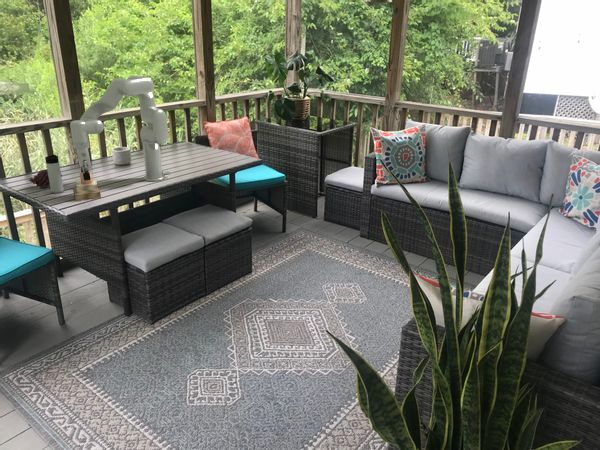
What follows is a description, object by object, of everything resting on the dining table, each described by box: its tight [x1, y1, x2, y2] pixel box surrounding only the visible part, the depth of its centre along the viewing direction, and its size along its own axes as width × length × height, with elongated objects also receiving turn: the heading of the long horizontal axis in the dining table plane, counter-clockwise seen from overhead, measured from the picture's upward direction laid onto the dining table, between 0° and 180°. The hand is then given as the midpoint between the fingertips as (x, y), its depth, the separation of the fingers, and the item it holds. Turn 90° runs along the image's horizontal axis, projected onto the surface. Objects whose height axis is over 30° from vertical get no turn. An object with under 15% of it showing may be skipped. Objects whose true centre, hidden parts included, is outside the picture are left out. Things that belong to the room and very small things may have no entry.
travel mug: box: [44, 154, 65, 195], centre depth 260 cm, size 6×7×20 cm
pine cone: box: [28, 169, 63, 189], centre depth 269 cm, size 18×10×10 cm, turn 139°
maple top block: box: [75, 178, 99, 194], centre depth 257 cm, size 10×10×4 cm
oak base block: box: [72, 187, 102, 202], centre depth 258 cm, size 12×12×4 cm
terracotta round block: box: [79, 171, 93, 184], centre depth 255 cm, size 6×6×5 cm
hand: (86, 177), depth 255 cm, fingers open, 7 cm apart
